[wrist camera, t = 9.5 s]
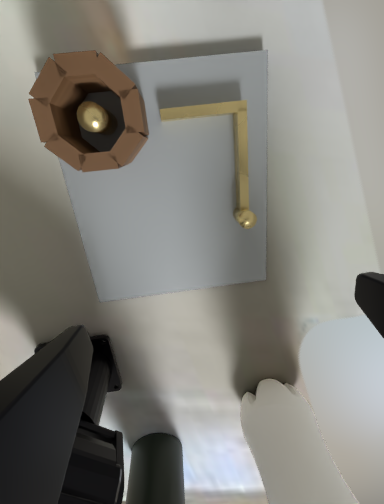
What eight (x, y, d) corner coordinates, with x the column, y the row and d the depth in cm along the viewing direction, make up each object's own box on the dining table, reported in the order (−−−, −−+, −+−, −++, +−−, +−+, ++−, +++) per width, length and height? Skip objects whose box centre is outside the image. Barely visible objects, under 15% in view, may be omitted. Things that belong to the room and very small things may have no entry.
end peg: (119, 133, 17) (107, 130, 14) (97, 135, 17) (81, 133, 14) (114, 109, 16) (101, 99, 13) (92, 111, 16) (73, 102, 13)
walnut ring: (153, 161, 18) (149, 165, 14) (75, 169, 17) (51, 175, 14) (139, 70, 16) (131, 47, 12) (52, 78, 15) (16, 57, 12)
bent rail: (248, 220, 20) (257, 227, 18) (175, 229, 20) (176, 238, 18) (246, 102, 17) (255, 96, 15) (160, 111, 17) (159, 107, 15)
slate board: (262, 275, 23) (266, 279, 22) (101, 297, 22) (99, 302, 21) (263, 54, 17) (267, 49, 16) (40, 75, 16) (34, 72, 15)
